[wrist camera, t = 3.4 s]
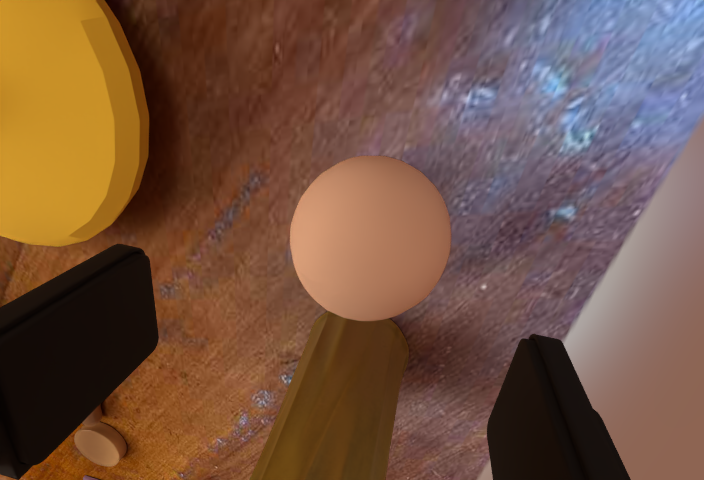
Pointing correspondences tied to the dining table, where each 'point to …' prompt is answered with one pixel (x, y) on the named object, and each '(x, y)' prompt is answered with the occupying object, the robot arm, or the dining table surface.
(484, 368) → the dining table surface
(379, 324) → the vase
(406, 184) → the egg
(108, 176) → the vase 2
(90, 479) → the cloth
